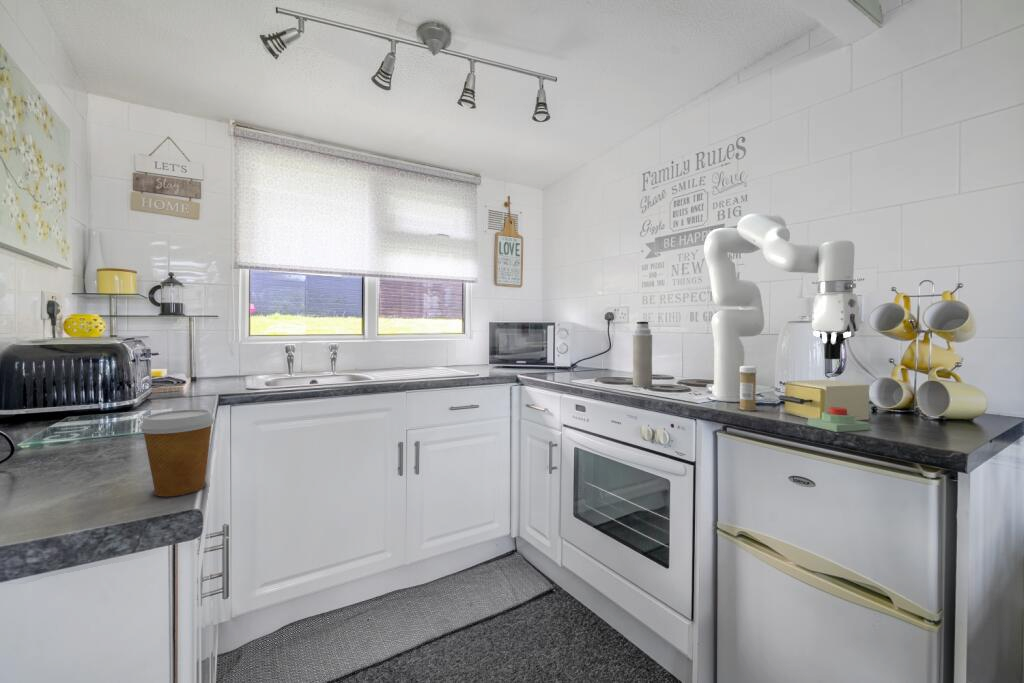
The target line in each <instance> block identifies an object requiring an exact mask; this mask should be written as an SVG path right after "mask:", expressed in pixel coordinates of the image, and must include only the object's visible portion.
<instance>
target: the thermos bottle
mask: <svg viewBox="0 0 1024 683" xmlns="http://www.w3.org/2000/svg"><path fill="white" fill-rule="evenodd" d="M651 333H652V331H651V329H650V328H649V321H637V322H636V328H635V329H634V333H633V335H632V386H633V387H637V388H651V387H653V334H651Z"/></svg>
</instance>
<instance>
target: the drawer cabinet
mask: <svg viewBox="0 0 1024 683" xmlns="http://www.w3.org/2000/svg"><path fill="white" fill-rule="evenodd" d="M786 384H789V385H799V386H806V387H813V388H820V389H824V412H826V411H829V408H830V407H839V408H845V409H847V413H850V414H853V415H855V420H857V421H864V420H869V414H870V384H867V383H859V382H858V383H857V382H850V381H843V380H833V379H808V380H807V379H806V380H803V379H802V380H787V381H786ZM786 414H787V415H792V416H797V417H801V418H806V419H812V418H815V417H810V416H806V415H801V414H796V413H792V412H787V411H786Z"/></svg>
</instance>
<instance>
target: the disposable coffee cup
mask: <svg viewBox="0 0 1024 683" xmlns="http://www.w3.org/2000/svg"><path fill="white" fill-rule="evenodd" d="M142 417H143V418H142V420H141V424H140V425H139V429H140V430H141V433H143V436H144V442H145V448H146V453H147V458H148V463H149V468H150V474H151V478H152V485H153V489H154V495H155V496H157V497H167V498H169V497H177V496H183V495H187V494H191V493H194V492H197V491H199V490H201V489H203V488H204V487H205V485H206V477H207V468H208V462H209V461H208V460H209V453H210V443H211V435H212V428H213V425H214V422H215V420H216V417H215V416H214V415H213V412H212V410H211V409H207V408H205V409H204V408H194V409H193V408H190V409H189V408H188V409H176V410H167V411H162V412H160V411H159V412H156V413H151V414H147V415H145V416H142Z"/></svg>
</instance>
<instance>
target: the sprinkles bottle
mask: <svg viewBox="0 0 1024 683" xmlns="http://www.w3.org/2000/svg"><path fill="white" fill-rule="evenodd" d="M756 383H757V366H752V365H744V366H740V402H739V409H740V410H741V411H747V412H754V411H756V410H757V407H756V405H757V404H756V402H757V401H756V400H757V389H756V388H757V384H756Z"/></svg>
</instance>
